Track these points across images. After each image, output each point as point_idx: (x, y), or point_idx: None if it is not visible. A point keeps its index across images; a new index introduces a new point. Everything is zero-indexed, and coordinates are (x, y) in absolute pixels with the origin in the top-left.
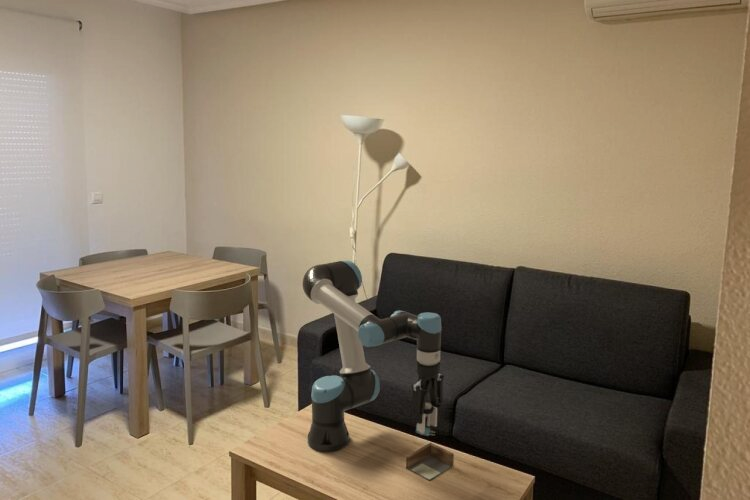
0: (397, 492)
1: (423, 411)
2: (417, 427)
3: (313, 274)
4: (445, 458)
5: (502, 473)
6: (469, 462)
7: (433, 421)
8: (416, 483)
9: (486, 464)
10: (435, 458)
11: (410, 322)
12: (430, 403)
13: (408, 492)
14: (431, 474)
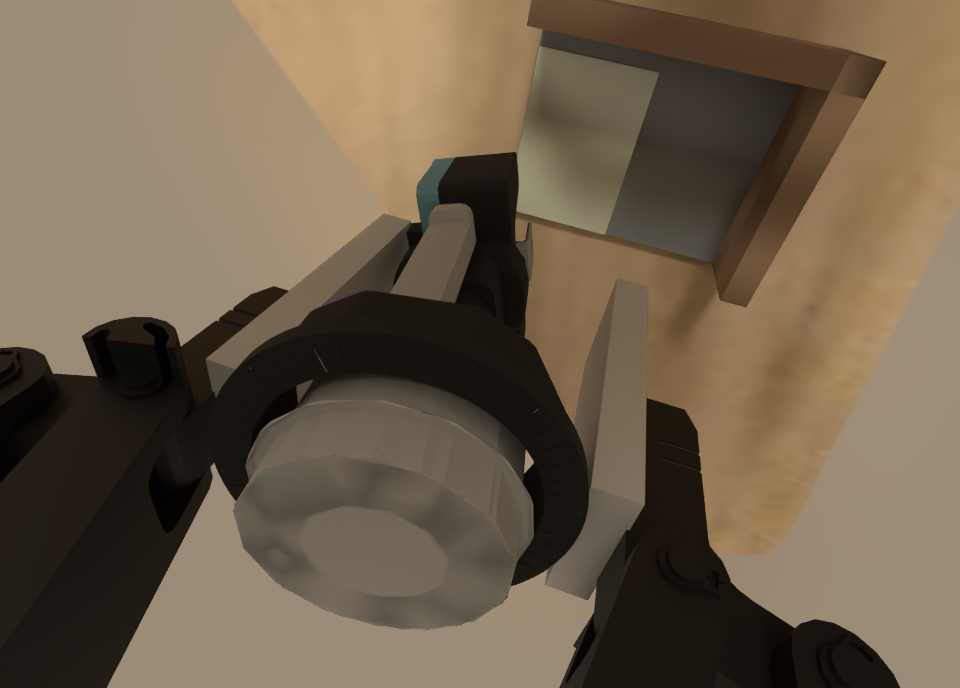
0: (314, 99)
1: (187, 511)
2: (364, 236)
3: None
4: (737, 232)
5: (756, 479)
6: (815, 334)
7: (586, 377)
8: (445, 151)
9: (824, 412)
10: (773, 131)
11: None
12: (497, 605)
13: (354, 153)
14: (560, 196)
